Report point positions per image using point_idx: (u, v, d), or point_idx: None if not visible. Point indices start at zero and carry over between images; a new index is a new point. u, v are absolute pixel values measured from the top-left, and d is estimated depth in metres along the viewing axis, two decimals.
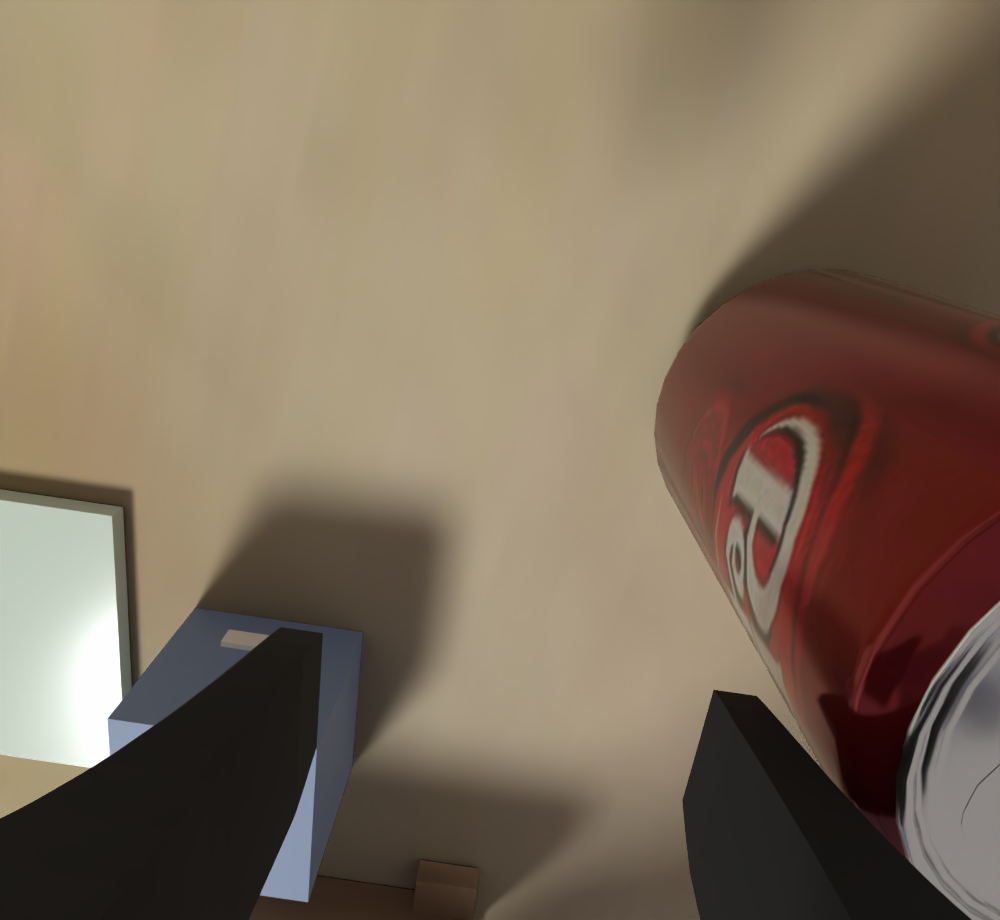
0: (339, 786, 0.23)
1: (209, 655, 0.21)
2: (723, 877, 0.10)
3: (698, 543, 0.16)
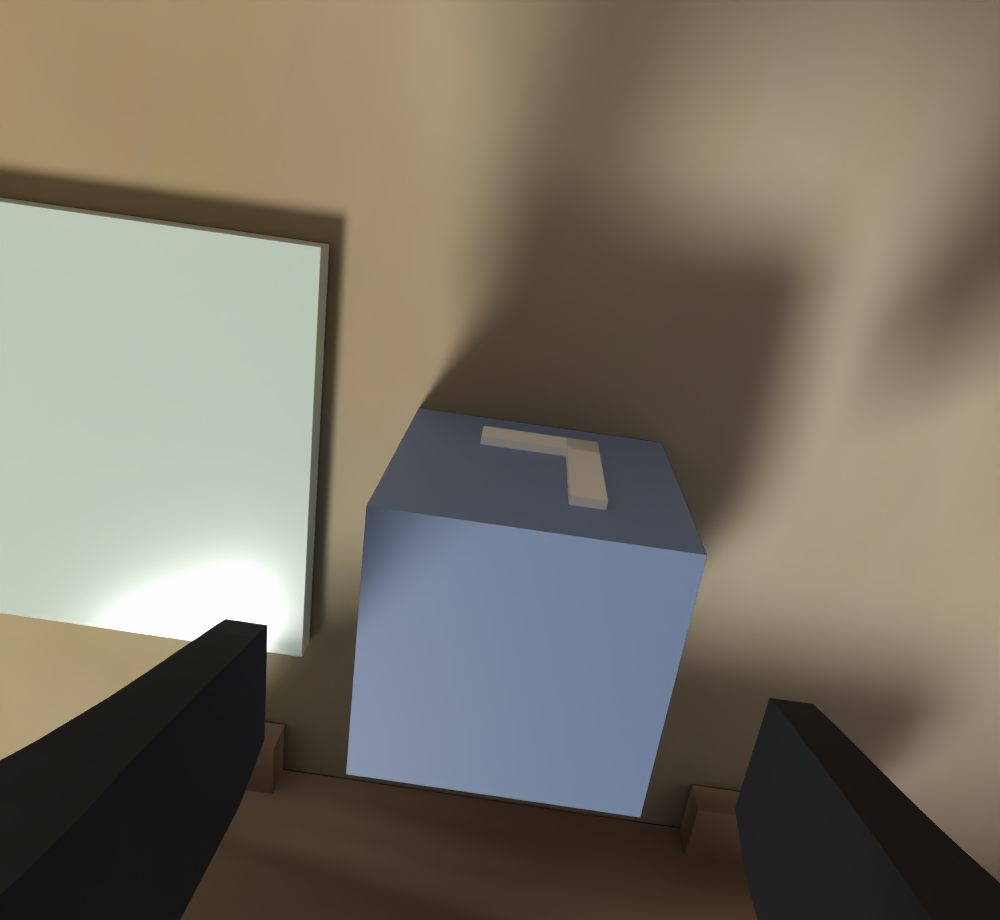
0: None
1: (471, 451, 0.14)
2: (786, 886, 0.10)
3: None
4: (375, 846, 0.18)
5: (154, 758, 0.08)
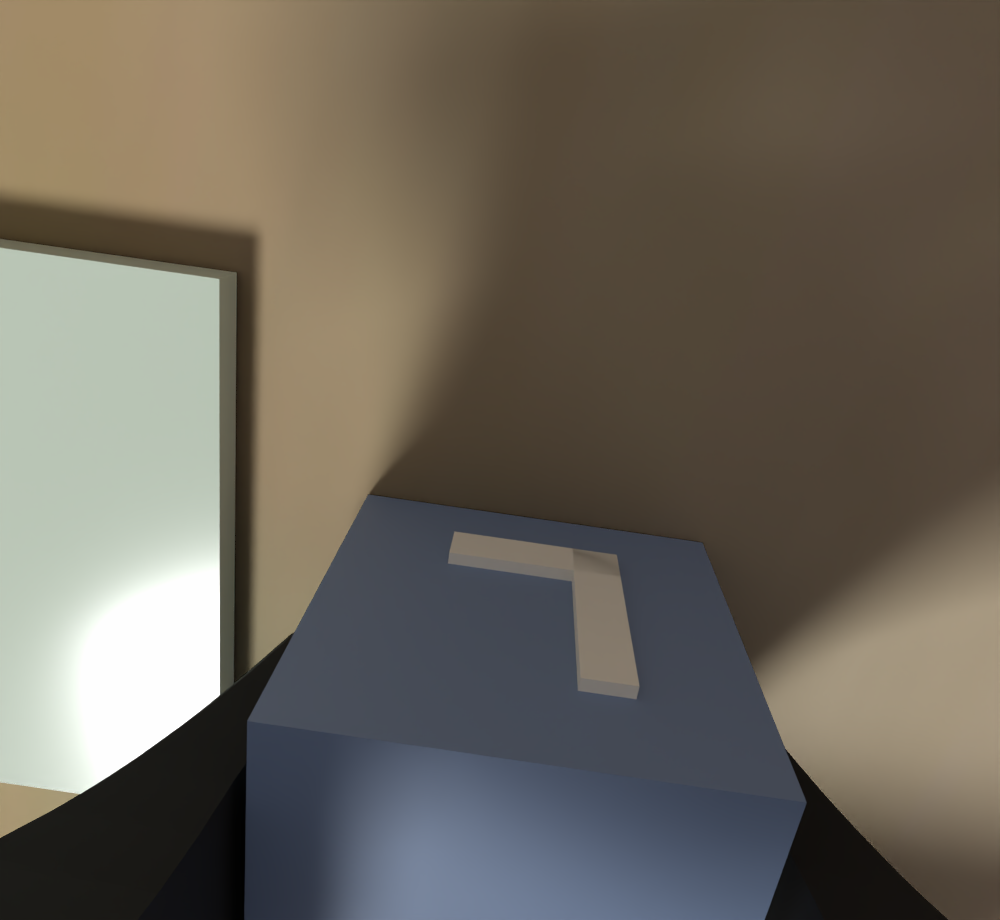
0: None
1: (433, 579, 0.10)
2: None
3: None
4: None
5: None
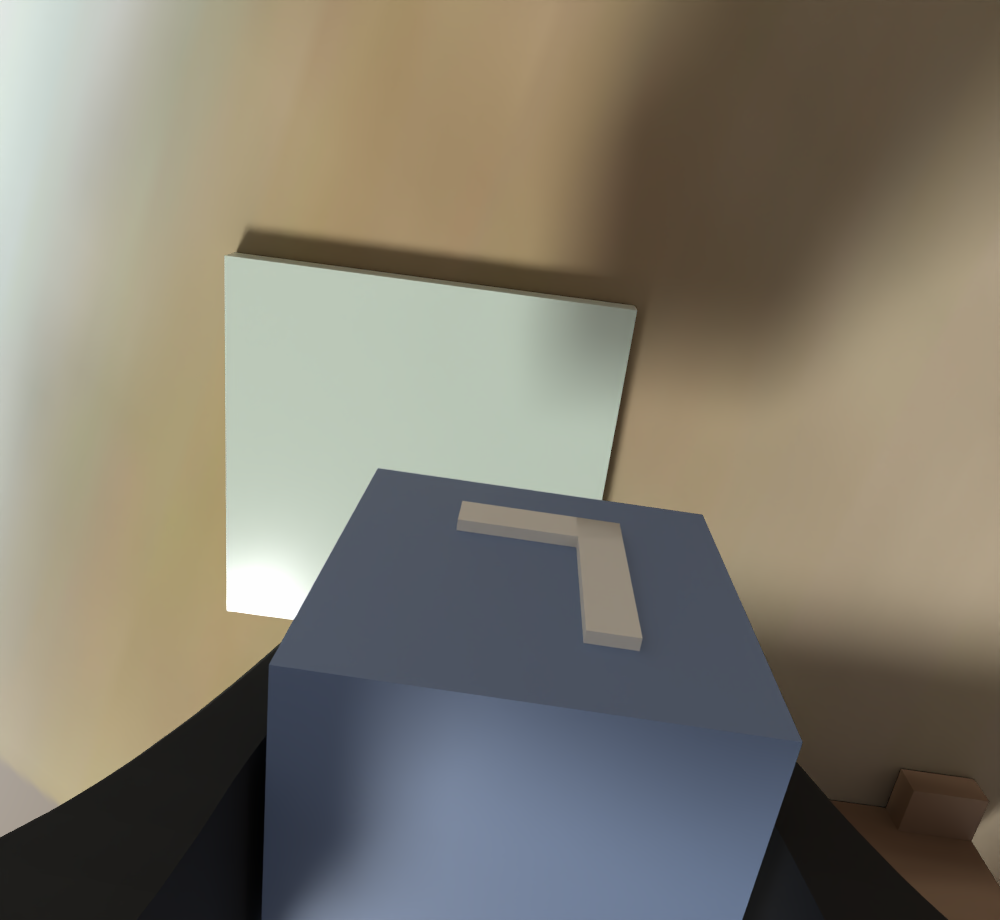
0: None
1: (442, 543, 0.10)
2: None
3: None
4: None
5: (252, 772, 0.08)
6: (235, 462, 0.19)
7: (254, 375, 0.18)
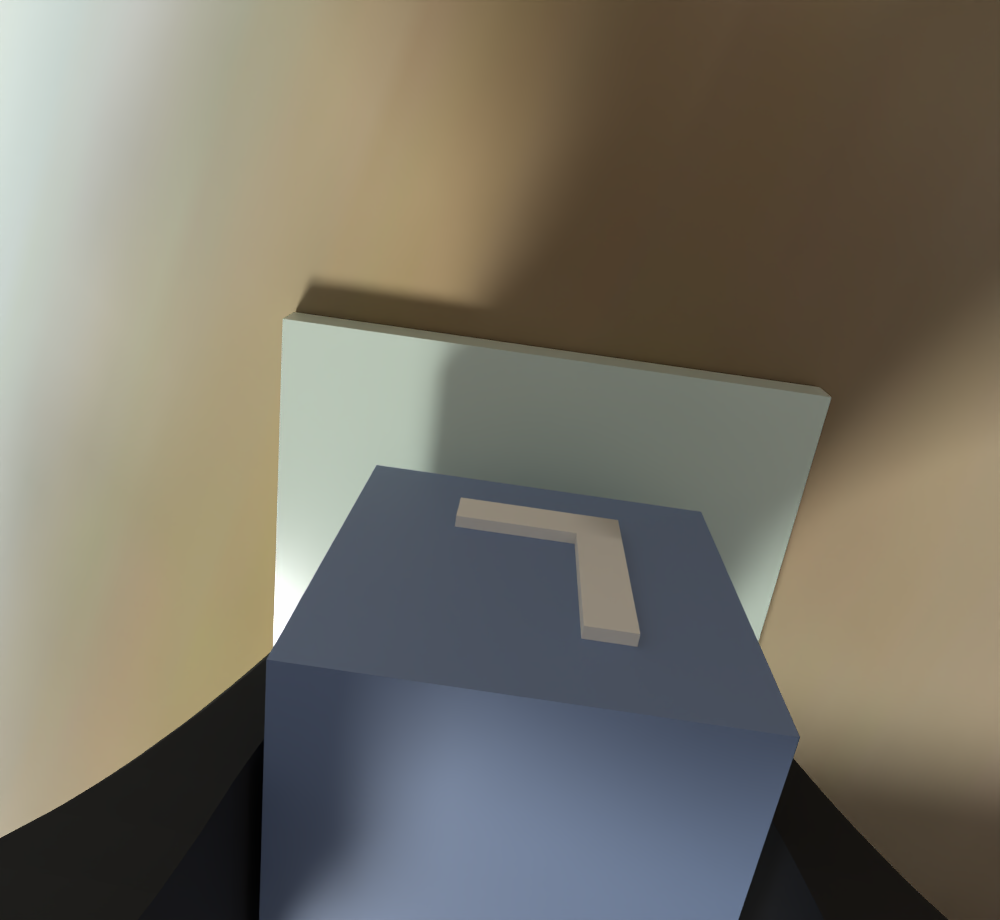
0: None
1: (440, 540, 0.10)
2: None
3: None
4: None
5: (253, 772, 0.08)
6: (287, 577, 0.14)
7: (316, 471, 0.14)
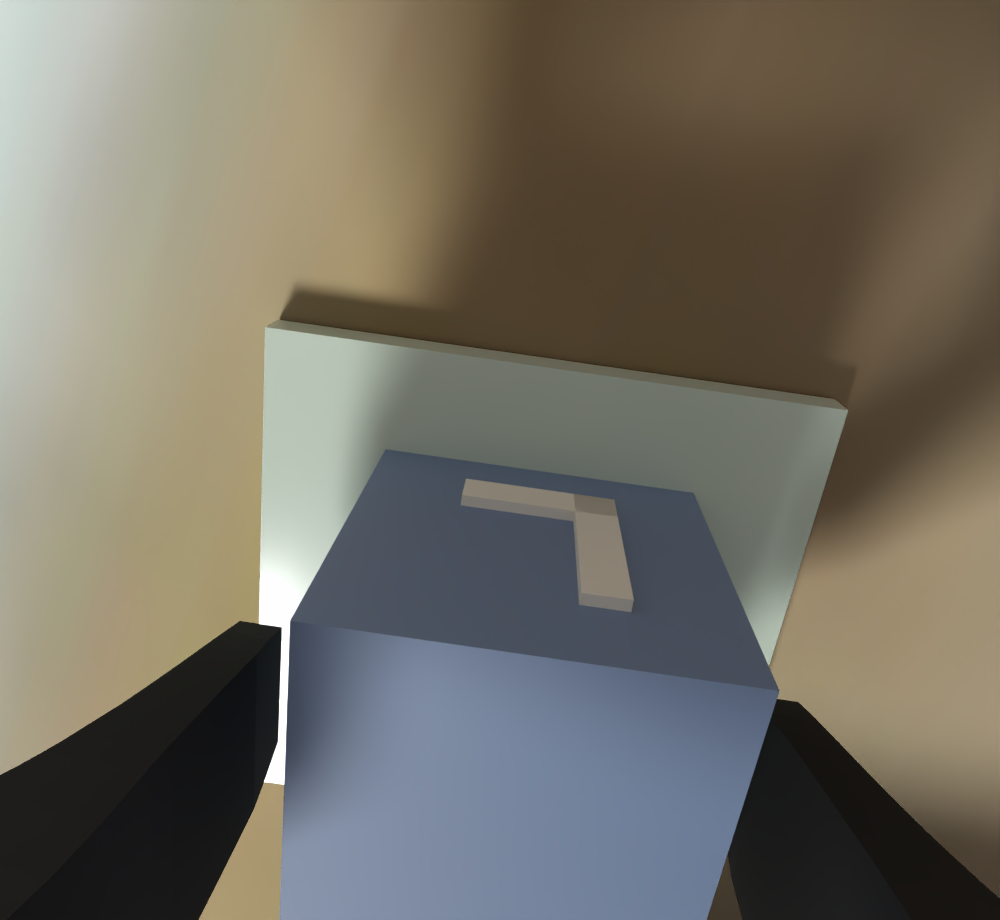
0: None
1: (448, 517, 0.11)
2: (769, 884, 0.10)
3: None
4: None
5: (174, 761, 0.08)
6: (272, 599, 0.14)
7: (302, 487, 0.13)
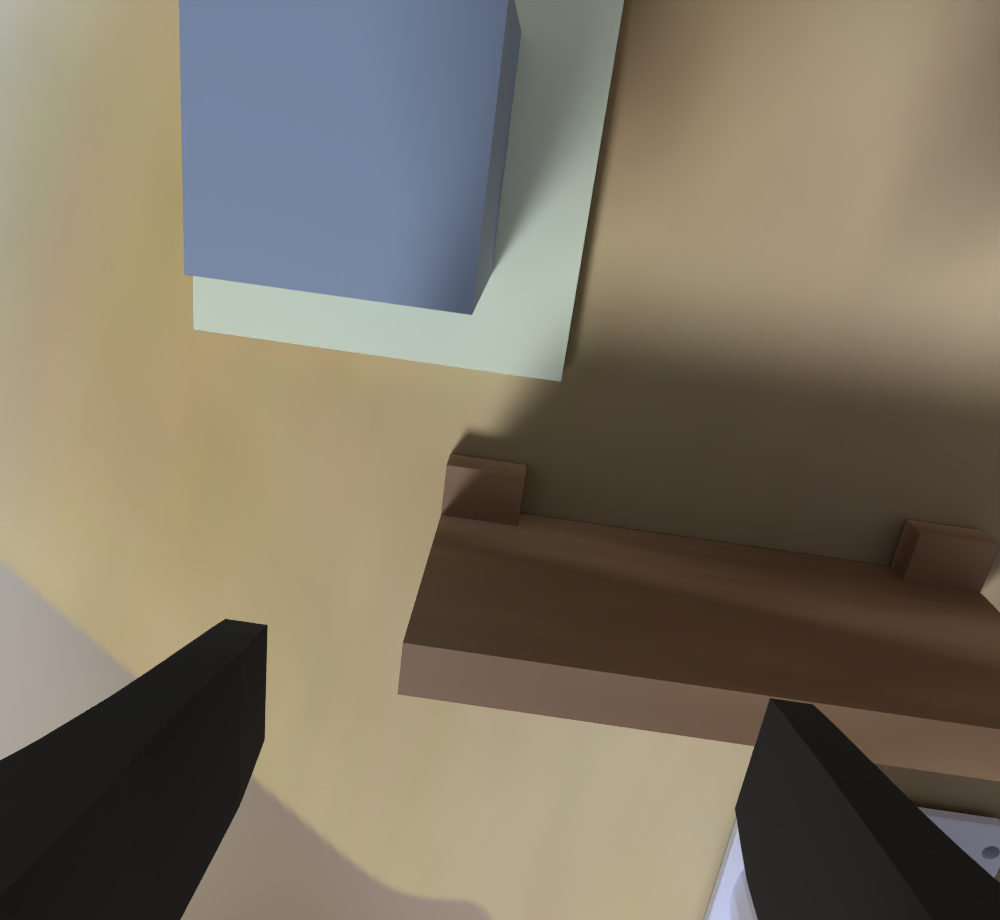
0: (490, 242, 0.16)
1: None
2: (786, 887, 0.10)
3: None
4: (626, 560, 0.19)
5: (154, 758, 0.08)
6: None
7: None
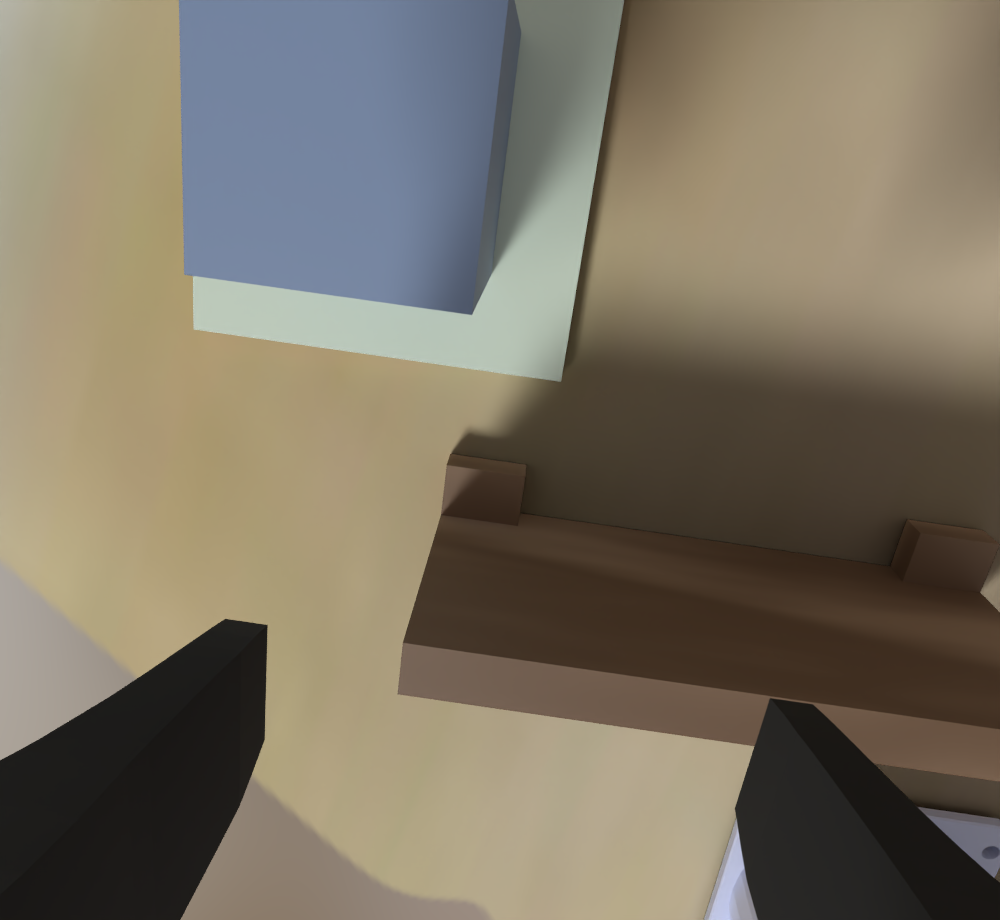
0: (490, 242, 0.16)
1: None
2: (786, 887, 0.10)
3: None
4: (626, 560, 0.19)
5: (154, 758, 0.08)
6: None
7: None
